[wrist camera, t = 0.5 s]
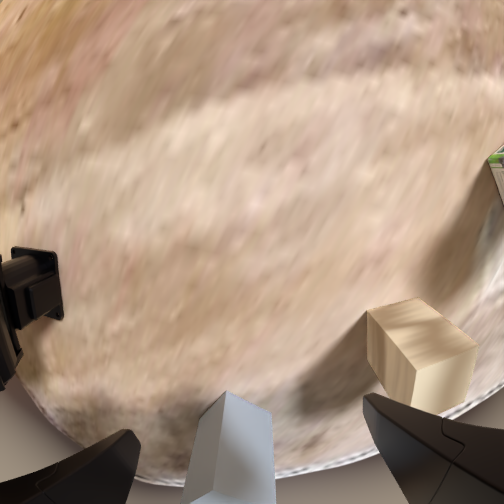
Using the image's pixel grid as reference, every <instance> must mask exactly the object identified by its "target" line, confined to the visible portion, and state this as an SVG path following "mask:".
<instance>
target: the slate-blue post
mask: <svg viewBox="0 0 504 504" xmlns="http://www.w3.org/2000/svg"><path fill="white" fill-rule="evenodd" d="M180 504H276V490H275V470H274V452H273V434H272V416H271V412H269V411H266V410H264V409H262V408H260V407H258V406H256V405H254V404H252V403H250V402H248V401H246V400H244V399H242V398H240V397H238V396H236V395H234V394H232V393H230V392H229V391H226V392H225V393H224V394H223V395H222V396H221V397H220V398H219V399H218V400H217V401H216V402H215V403H214V404H213V405H212V406H211V408H210V409H209V410H208V411H207V412H206V413H205V414H204V415H203V416H202V417H201V418H200V419H199V423H198V428H197V432H196V436H195V441H194V445H193V450H192V454H191V458H190V463H189V467H188V472H187V476H186V480H185V485H184V489H183V494H182V498H181V503H180Z"/></svg>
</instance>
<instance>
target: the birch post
mask: <svg viewBox="0 0 504 504" xmlns="http://www.w3.org/2000/svg"><path fill="white" fill-rule="evenodd" d="M478 349H479V344H477V343H476V342H475V341H474V340H472V339H471V338H470V337H469V336H467V335H466V334H465V333H464V332H462V331H461V330H460V329H459V328H457V327H456V326H455V325H454V324H452V323H451V322H450V321H449V320H447V319H446V318H445V317H443V316H442V315H441V314H439V313H438V312H437V311H436V310H434V309H433V308H432V307H430V306H429V305H428V304H426V303H425V302H424V301H422V300H421V299H420V298H418V297H417V298H413V299H409V300H406V301H402V302H398V303H394V304H390V305H386V306H382V307H378V308H373V309H369V310H367V361H368V362H369V364H370V366H371V367H372V369H373V371H374V372H375V374H376V376H377V377H378V379H379V381H380V382H381V384H382V386H383V388H384V389H385V391H386V393H387V394H388V396H389V398H390V399H392V400H395V401H397V402H400V403H403V404H405V405H408V406H411V407H414V408H417V409H419V410H422V411H425V412H428V413H431V414H434V415H437V414H440V413H442V412H444V411H446V410H448V409H451V408H453V407H455V406H457V405H459V404H461V403H463V402H464V401H465V398H466V394H467V391H468V388H469V385H470V381H471V378H472V374H473V370H474V366H475V362H476V358H477V354H478Z"/></svg>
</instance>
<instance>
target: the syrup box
mask: <svg viewBox="0 0 504 504" xmlns="http://www.w3.org/2000/svg"><path fill="white" fill-rule="evenodd" d="M488 163H489V165H490V168H491V170H492V173H493V176H494V178H495V181H496V184H497V187H498V190H499V193H500V195H501V198H502V202H503V205H504V145H502V146H501V147H500V148H499V149H498V150H497V151H496V152H495V153H493V154H492V155H491V156H490V157H489V158H488Z"/></svg>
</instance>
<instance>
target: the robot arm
mask: <svg viewBox="0 0 504 504" xmlns="http://www.w3.org/2000/svg"><path fill="white" fill-rule="evenodd" d="M51 255H52V257H53V259H52V257H51ZM11 257H12V259H11V260H9V261H6V262H4V263H1V262H2V256H1V254H0V391H3V390H5V385H6V383H7V382H8V381H9V380H10V379H11V378H12V377H13V376H14V374H15V372H16V371H15V368H16V366H17V365H18V363H19V361H20V359H21V358H22V356H23V351H22V348H20V345H19V341H18V338H17V335H16V331H17V330H21V329H23V328H24V327H26V326H27V325H29V324H30V323H31V322H33V321H34V320H37V319H39V318H40V317H42V316H47V317H50V318H54V319H57V320H60V319H62V318H63V316H64V313H63V307H62V300H61V292H60V283H59V273H58V261H57V255H56V253H55V252H54V251H47V250H39V249H32V248H25V247H17V246H15V247H12V248H11ZM58 313H59V314H58ZM363 414H364V418H365V420H366V423H367V425H368V428H369V430H370V433H371V435H372V438H373V440H374V443H375V445H376V447H377V449H378V450H379V452H380V454H381V455H382V457H383V459H384V461H385V462H386V464H387V466H388V468H389V469H390V471H391V473H392V474H393V476H394V478H395V480H396V481H397V483H398V485H399V487H400V488H401V490H402V492H403V494H404V495H405V497H406V499H407V501H408V502H409V504H504V429H496V428H489V427H482V426H476V425H471V424H466V423H462V422H458V421H454V420H451V419H447V418H443V419H442V417H440V416H437V415H434V414H431V413H428V412H425V411H422V410H419V409H417V408H414V407H411V406H408V405H405V404H403V403H400V402H397V401H395V400H392V399H389V398H387V397H384V396H381V395H379V394H376V393H370V394H366V395H364V396H363ZM140 449H141V444H140V442H139V440H138V439H137V437H136V436H135V434H134V433H133V431H132V430H130V429H122V430H120V431H118V432H116V433H114V434H112V435H111V436H109V437H107V438H105V439H103V440H101V441H99V442H98V443H96V444H94V445H92V446H90V447H88V448H86V449H84V450H82V451H80V452H78V453H76V454H74V455H73V456H70V457H68V458H66V459H64V460H62V461H60V462H59V463H58V462H57V463H55V464H53V465H51V466H48V467H46V468H44V469H41V470H38V471H36V472H33V473H30V474H27V475H24V476H21V477H18V478H15V479H11V480H8V481H5V482H1V483H0V504H125V503H126V500H127V497H128V494H129V491H130V488H131V485H132V482H133V479H134V476H135V473H136V469H137V464H138V459H139V454H140Z"/></svg>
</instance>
